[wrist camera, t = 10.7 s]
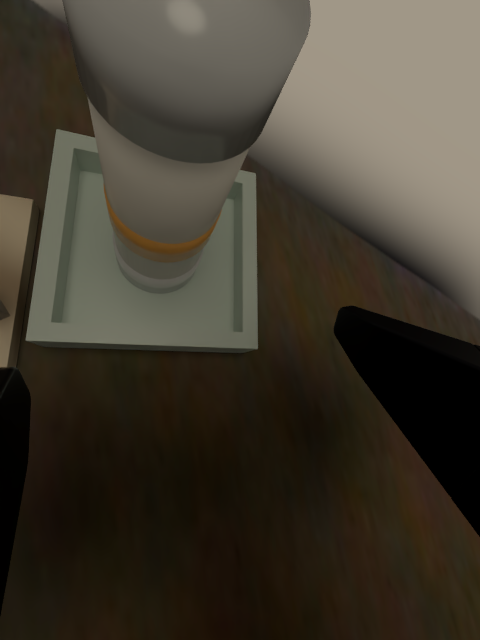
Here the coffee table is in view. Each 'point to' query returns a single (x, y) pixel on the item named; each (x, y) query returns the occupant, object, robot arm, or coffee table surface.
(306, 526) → the coffee table surface
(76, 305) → the tray
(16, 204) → the fuse holder
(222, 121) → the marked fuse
